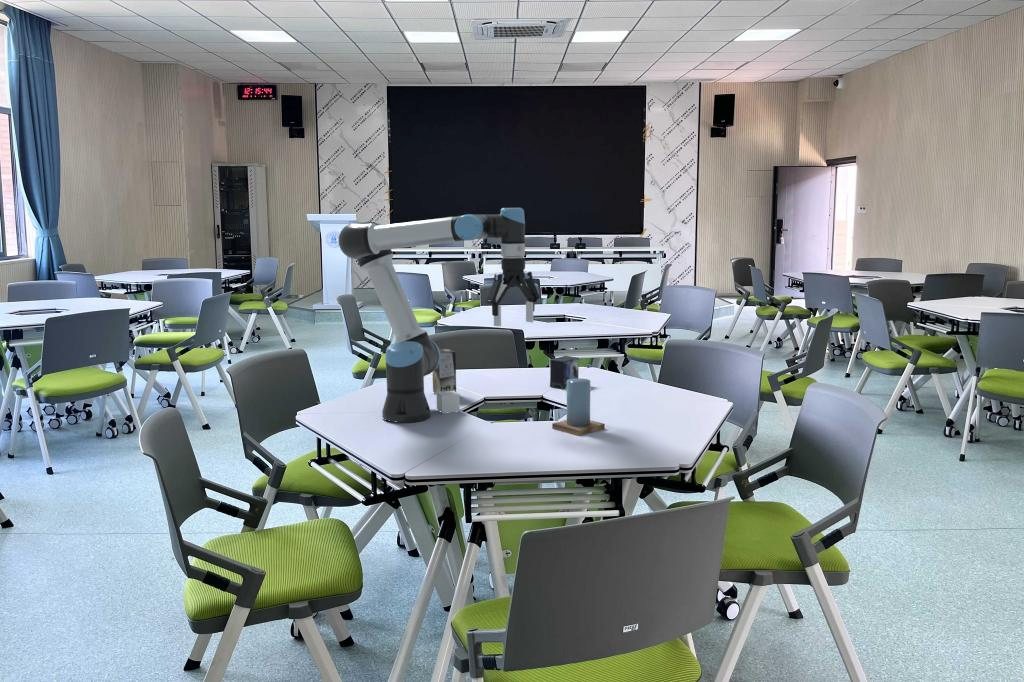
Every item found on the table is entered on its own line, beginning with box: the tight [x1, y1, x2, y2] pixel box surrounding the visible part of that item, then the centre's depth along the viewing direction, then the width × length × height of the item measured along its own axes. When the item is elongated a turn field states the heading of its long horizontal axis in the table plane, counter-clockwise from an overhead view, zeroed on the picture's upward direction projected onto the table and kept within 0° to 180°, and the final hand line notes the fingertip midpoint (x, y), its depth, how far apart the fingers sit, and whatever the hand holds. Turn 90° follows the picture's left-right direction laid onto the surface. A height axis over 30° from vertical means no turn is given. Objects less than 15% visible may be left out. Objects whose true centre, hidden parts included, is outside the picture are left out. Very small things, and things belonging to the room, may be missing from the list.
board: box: [551, 419, 606, 436], centre depth 242 cm, size 11×11×2 cm
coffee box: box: [431, 348, 457, 395], centre depth 288 cm, size 9×6×16 cm
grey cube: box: [435, 391, 461, 414], centre depth 266 cm, size 6×6×6 cm
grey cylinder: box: [566, 377, 591, 427], centre depth 241 cm, size 7×7×13 cm
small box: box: [549, 355, 580, 390], centre depth 302 cm, size 11×6×10 cm, turn 143°
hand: (513, 324), depth 259 cm, fingers open, 13 cm apart
